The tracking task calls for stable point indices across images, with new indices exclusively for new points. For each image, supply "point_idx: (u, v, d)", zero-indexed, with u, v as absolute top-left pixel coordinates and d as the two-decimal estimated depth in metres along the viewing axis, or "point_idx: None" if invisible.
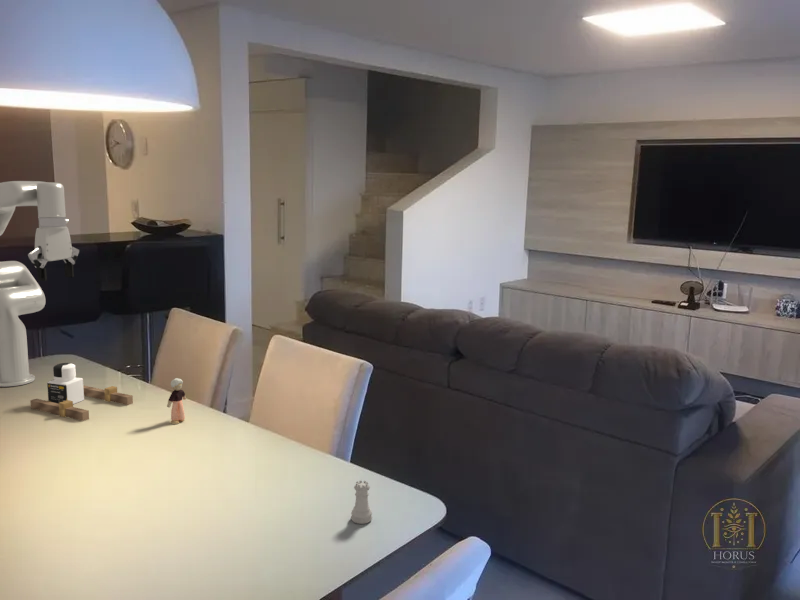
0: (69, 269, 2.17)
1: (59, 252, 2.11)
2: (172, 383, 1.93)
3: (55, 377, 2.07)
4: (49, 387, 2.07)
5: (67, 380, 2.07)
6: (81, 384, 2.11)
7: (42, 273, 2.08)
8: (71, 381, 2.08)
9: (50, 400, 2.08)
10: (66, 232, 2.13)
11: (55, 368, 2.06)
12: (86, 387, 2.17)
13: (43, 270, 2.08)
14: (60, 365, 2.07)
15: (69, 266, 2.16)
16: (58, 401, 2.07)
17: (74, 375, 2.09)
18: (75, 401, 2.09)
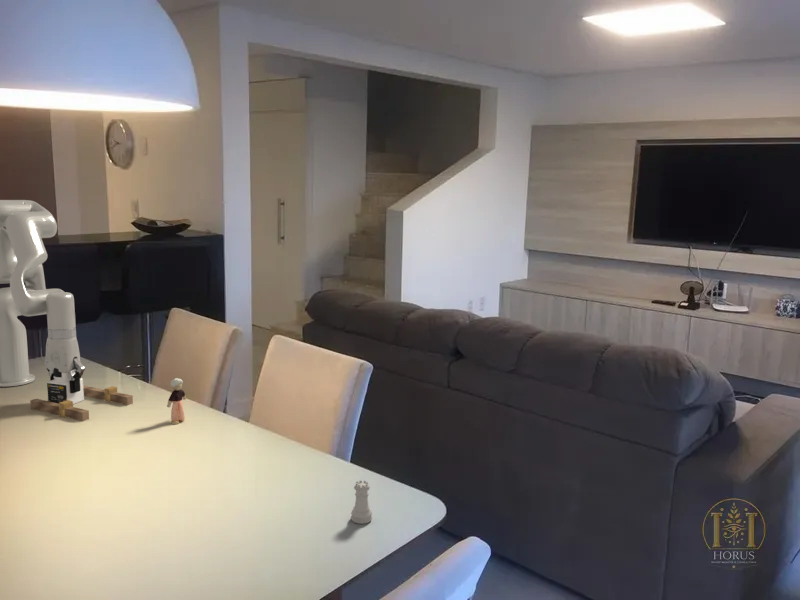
0: None
1: None
2: (172, 383, 1.93)
3: (55, 377, 2.06)
4: (49, 387, 2.07)
5: (67, 380, 2.07)
6: (81, 384, 2.11)
7: None
8: None
9: (50, 400, 2.08)
10: None
11: (55, 368, 2.06)
12: (86, 387, 2.17)
13: (78, 380, 2.08)
14: None
15: None
16: (58, 401, 2.07)
17: None
18: (75, 401, 2.09)
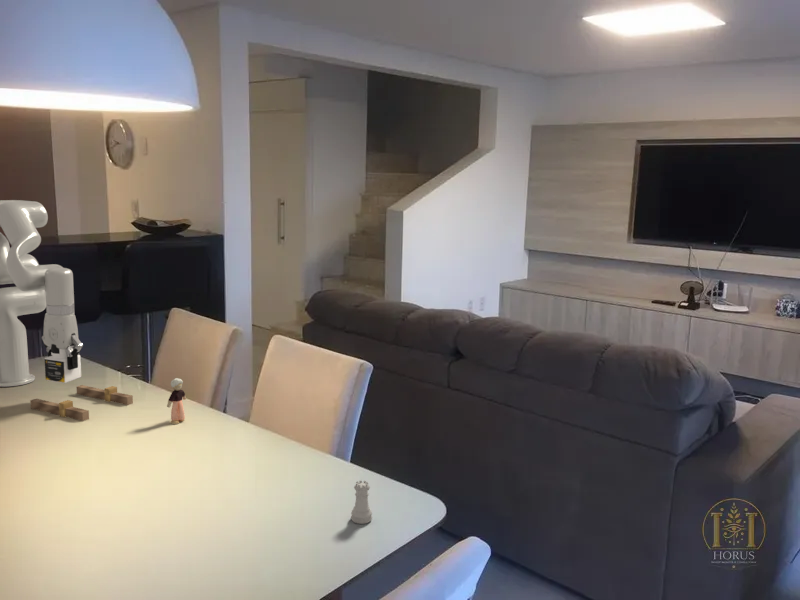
0: None
1: None
2: (172, 383, 1.93)
3: (52, 353, 2.06)
4: (46, 363, 2.06)
5: (64, 356, 2.06)
6: (78, 361, 2.10)
7: None
8: None
9: (47, 376, 2.07)
10: None
11: (53, 344, 2.05)
12: (86, 387, 2.17)
13: None
14: None
15: None
16: (55, 377, 2.06)
17: None
18: (72, 378, 2.08)
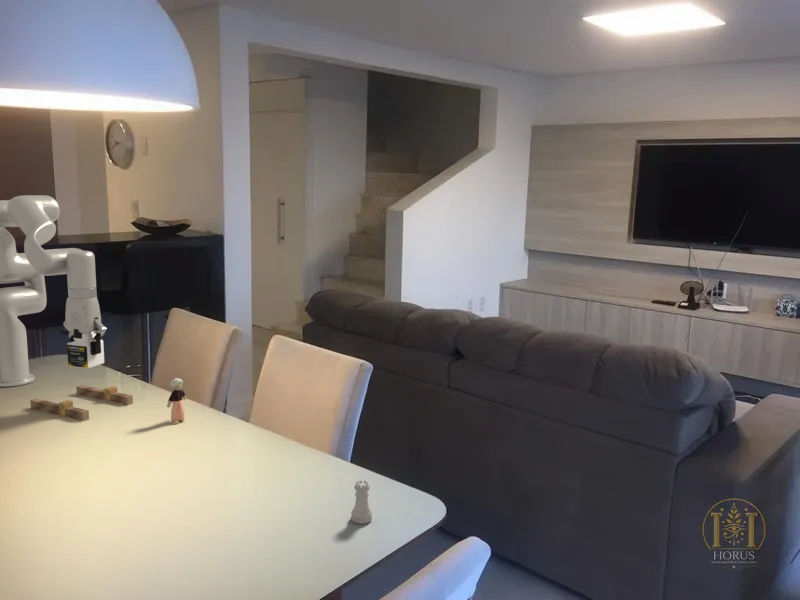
0: None
1: None
2: (172, 383, 1.93)
3: (75, 338, 2.00)
4: (69, 349, 2.01)
5: (87, 341, 2.01)
6: (101, 346, 2.05)
7: None
8: None
9: (70, 362, 2.01)
10: None
11: (75, 329, 2.00)
12: (86, 387, 2.17)
13: None
14: None
15: None
16: (78, 363, 2.00)
17: None
18: (95, 363, 2.03)
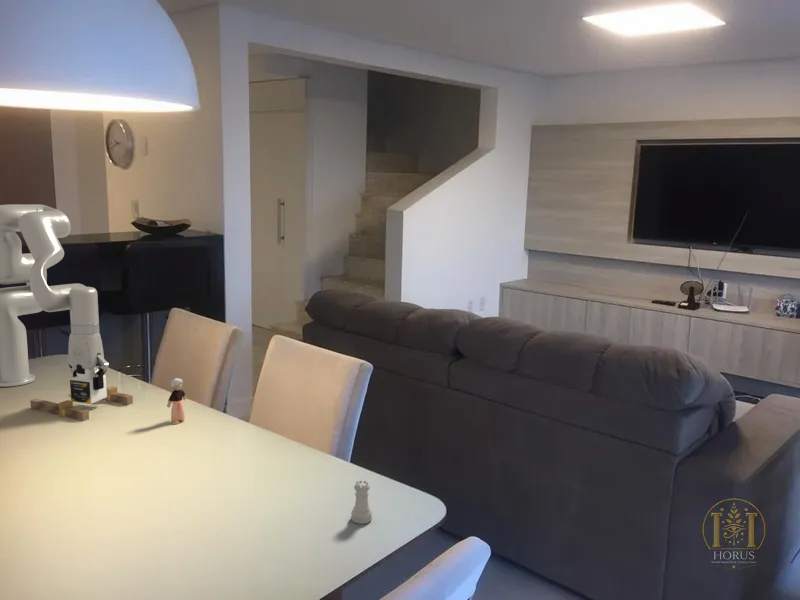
0: None
1: None
2: (172, 383, 1.93)
3: (78, 374, 2.02)
4: (72, 384, 2.02)
5: (90, 377, 2.02)
6: (104, 381, 2.06)
7: None
8: None
9: (73, 397, 2.03)
10: None
11: (78, 364, 2.01)
12: None
13: None
14: None
15: None
16: (81, 398, 2.02)
17: None
18: (98, 398, 2.04)
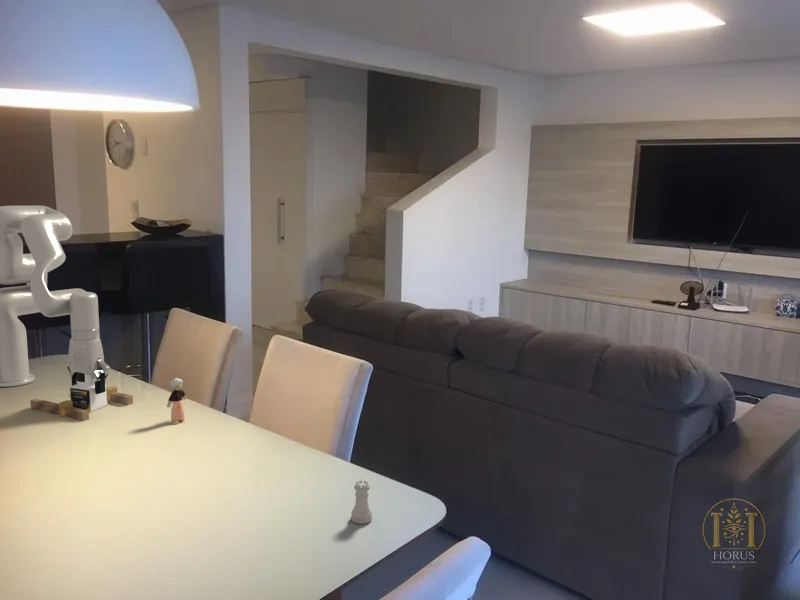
0: None
1: None
2: (172, 383, 1.93)
3: (78, 382, 2.02)
4: (72, 392, 2.03)
5: (90, 385, 2.03)
6: None
7: None
8: (94, 386, 2.03)
9: (73, 405, 2.03)
10: None
11: (78, 373, 2.02)
12: None
13: (103, 381, 2.04)
14: None
15: None
16: (81, 406, 2.03)
17: None
18: (98, 406, 2.05)
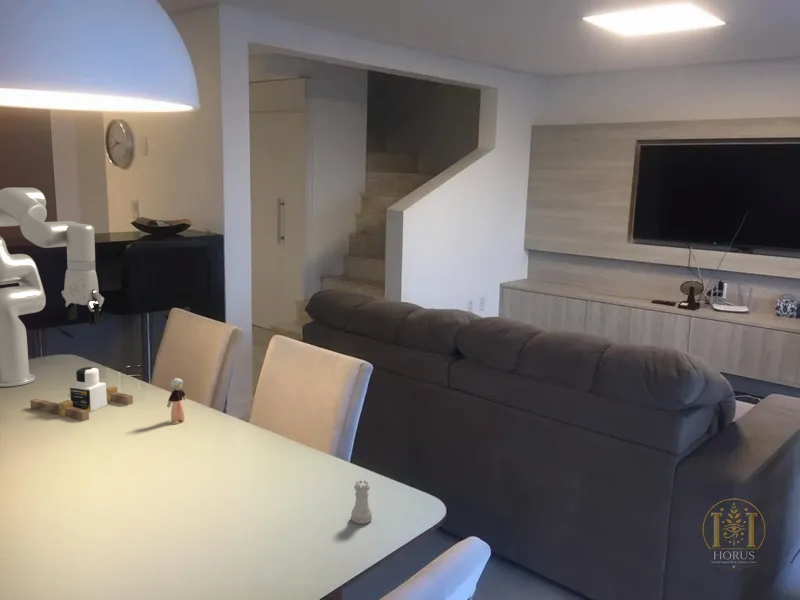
0: (74, 311, 2.11)
1: None
2: (172, 383, 1.93)
3: (78, 382, 2.02)
4: (72, 392, 2.03)
5: (90, 385, 2.03)
6: (104, 389, 2.07)
7: None
8: (94, 386, 2.03)
9: (73, 405, 2.03)
10: None
11: (78, 373, 2.02)
12: None
13: None
14: (83, 369, 2.03)
15: (75, 308, 2.11)
16: (81, 406, 2.03)
17: (97, 380, 2.05)
18: (98, 406, 2.05)
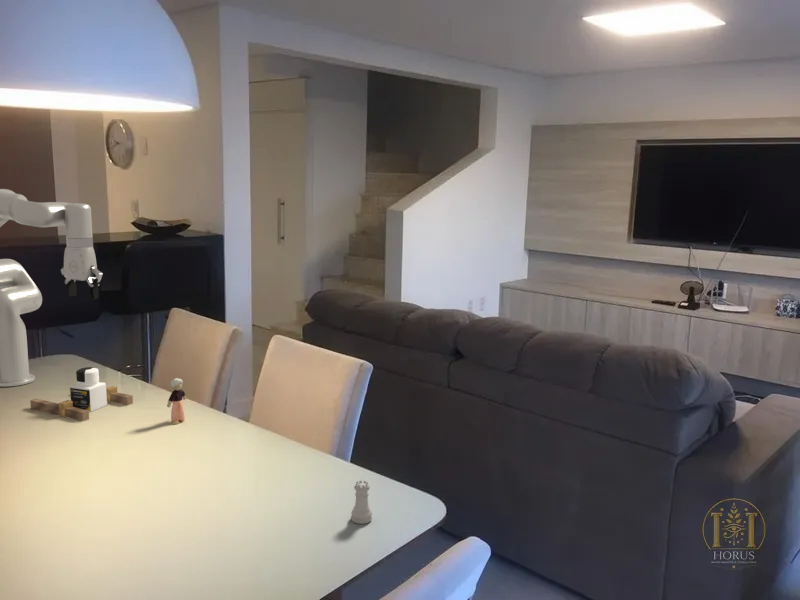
0: (74, 288, 2.20)
1: None
2: (172, 383, 1.93)
3: (78, 382, 2.02)
4: (72, 392, 2.03)
5: (90, 385, 2.03)
6: (104, 389, 2.07)
7: None
8: (94, 386, 2.03)
9: (73, 405, 2.03)
10: None
11: (78, 373, 2.02)
12: None
13: None
14: (83, 369, 2.03)
15: (74, 285, 2.20)
16: (81, 406, 2.03)
17: (97, 380, 2.05)
18: (98, 406, 2.05)
